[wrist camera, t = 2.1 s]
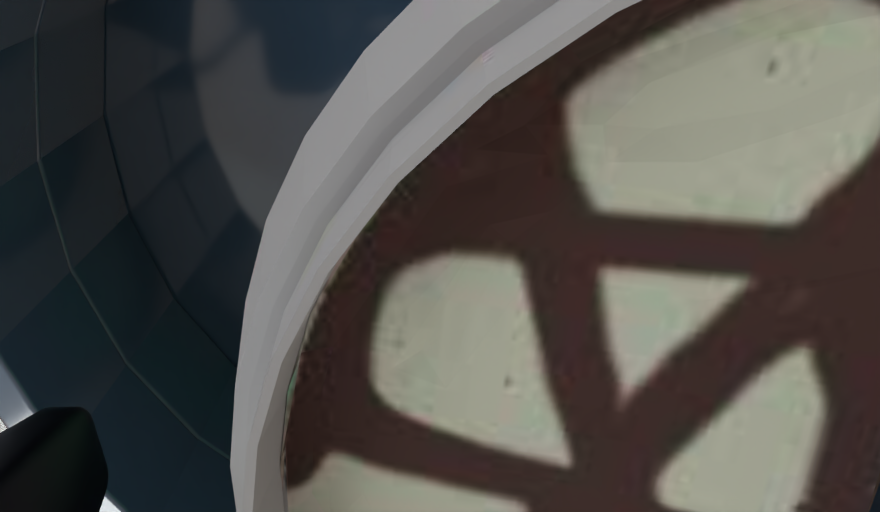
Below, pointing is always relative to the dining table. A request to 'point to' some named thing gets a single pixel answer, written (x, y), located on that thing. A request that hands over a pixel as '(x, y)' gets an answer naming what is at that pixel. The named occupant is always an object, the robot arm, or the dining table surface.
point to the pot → (151, 213)
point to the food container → (576, 267)
